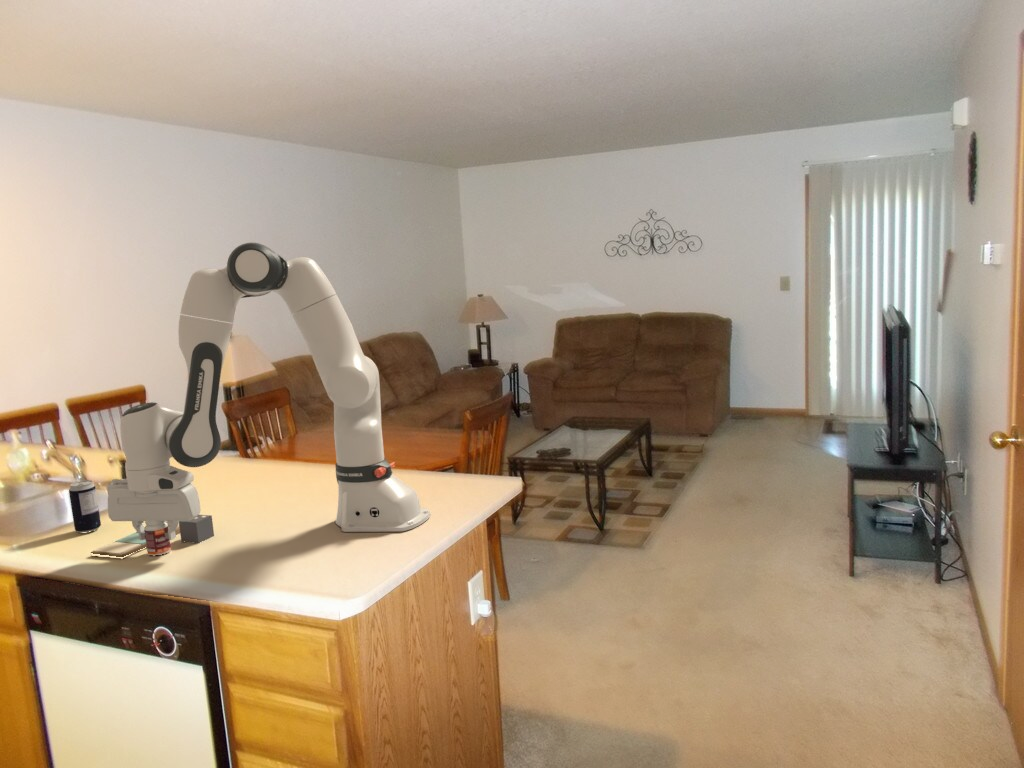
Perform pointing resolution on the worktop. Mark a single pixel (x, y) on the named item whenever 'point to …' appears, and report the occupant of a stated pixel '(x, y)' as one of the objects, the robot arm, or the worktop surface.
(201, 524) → the die
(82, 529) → the beverage can
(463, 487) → the worktop surface
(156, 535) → the pill bottle
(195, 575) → the worktop surface
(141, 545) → the board
